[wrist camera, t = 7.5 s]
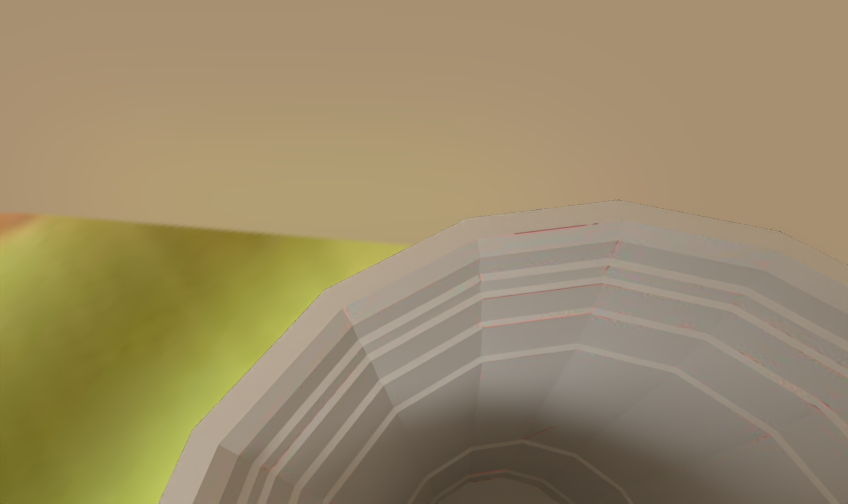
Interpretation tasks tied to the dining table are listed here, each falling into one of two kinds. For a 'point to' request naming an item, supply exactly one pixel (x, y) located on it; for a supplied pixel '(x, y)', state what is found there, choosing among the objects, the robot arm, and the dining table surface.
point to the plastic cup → (550, 373)
